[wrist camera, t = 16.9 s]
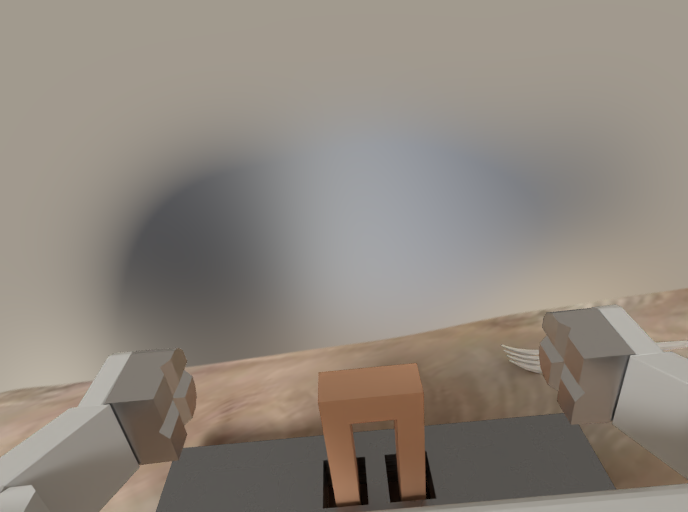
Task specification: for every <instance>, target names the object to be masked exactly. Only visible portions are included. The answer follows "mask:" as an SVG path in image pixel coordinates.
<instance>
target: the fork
mask: <svg viewBox="0 0 688 512" xmlns="http://www.w3.org/2000/svg"><path fill="white" fill-rule="evenodd" d="M655 343H656V344H657V345H658V346H659V347H660V348H661V349H662V350H671V349H678V348H686V347H688V340H684V341H670V342H655ZM501 346H502V347H504V348H506V349H508V350H511V351H513V352H516V353H513V352H510V351H507V350H504V352H506V353H508V354H510V355H513V356H515V357H512V356H509V355H506V356H507V357H509V358H511V359H513V360H515V361H517V362H515V361H512V360H509V361H510V362H512V363H513V364H515V365H517V366H519V367H521V368H523V369H526V370H529V371H532V372H536V373H542V370H541V367H540V361H535V360H539V356H530V355H539V350H528V349H519V348H514V347H509V346H505V345H502V344H501ZM517 353H519V354H517ZM521 354H523V355H521ZM516 357H518V358H516ZM519 358H521V359H519ZM524 359H525V360H524ZM518 362H520V363H518ZM522 363H523V364H522ZM526 364H527V365H526Z"/></svg>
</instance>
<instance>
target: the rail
mask: <svg viewBox="0 0 688 512" xmlns="http://www.w3.org/2000/svg"><path fill="white" fill-rule="evenodd" d="M424 432H425V478H427V481H428V486H429V491H430V496H431V499H426V500H415V501H403V502H392V503H390V497H389V488H388V481H396V480H398V472H397V457H396V442H395V429H386V430H375V431H364V432H353V437H354V445H355V452H356V460H357V467H358V475H359V483H360V484H362V483H367V489H368V501H369V505H358V506H347V507H336V508H328V487H329V486H333V484H332V478H331V473H330V467H329V461H328V456H327V450H326V445H325V439H324V435H321V436H310V437H299V438H288V439H277V440H267V441H256V442H245V443H234V444H223V445H212V446H201V447H191V448H183V449H182V452H181V455H180V458H179V460H178V461H172V464H171V467H170V470H169V473H168V476H167V479H166V482H165V485H164V488H163V491H162V494H161V497H160V500H159V504H158V507H157V510H156V512H366V511H377V510H389V509H400V508H412V507H423V506H435V505H446V504H458V503H469V502H480V501H492V500H503V499H515V498H526V497H538V496H549V495H561V494H572V493H584V492H595V491H607V490H616V488H615V487H614V485H613V483H612V481H611V480H610V478H609V476H608V475H607V473H606V471H605V469H604V468H603V466H602V464H601V462H600V461H599V459H598V457H597V455H596V454H595V452H594V450H593V449H592V447H591V445H590V443H589V442H588V440H587V438H586V436H585V435H584V433H583V431H582V430H581V428H580V426H579V424H575V425H571V424H570V423H569V421H568V419H567V417H566V416H565V414H564V413H560V414H549V415H538V416H527V417H516V418H505V419H494V420H484V421H473V422H462V423H451V424H440V425H429V426H424Z"/></svg>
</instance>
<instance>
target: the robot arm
mask: <svg viewBox="0 0 688 512" xmlns="http://www.w3.org/2000/svg"><path fill="white" fill-rule="evenodd" d="M542 328H543V330H544V331H545V333H546V335H547V336H546V337H545V338H544V339H543V340H542V341H541V343H540V347H539V361H540V367H541V370H542V373H543V376H544V378H545V380H546V382H547V384H548V385H549V386H551V387H552V388H554V389H556V390H557V391H558V397H557V402H558V403H559V405H560V407H561V409H562V410H563V412H564V414H565V416H566V417H567V419H568V421H569V423H570V424H571V425H575V424H591V423H607V422H612V424H613V425H614V426H615V427H617V428H618V429H619V430H621V431H622V432H623V433H625V434H626V435H628V436H629V437H630V438H632V439H633V440H634V441H636V442H637V443H638V444H640V445H641V446H642V447H644V448H645V449H647V450H648V451H649V452H651V453H652V454H653V455H655V456H656V457H657V458H659V459H660V460H661V461H663V462H664V463H666V464H667V465H668V466H670V467H671V468H672V469H674V470H675V471H676V472H678V473H679V474H680V475H682V476H683V477H685V478H686V479H687V480H688V359H687V358H685V357H683V356H680V355H678V354H676V353H674V352H663V350H662V349H661V348H660V347H659V346H658V345H657V344H656V343H655V342H654V341H653V340H652V339H651V338H650V337H649V336H648V335H647V334H646V332H645V331H644V330H643V329H642V328H641V327H640V326H639V325H638V324H637V323H636V322H635V321H634V320H633V319H632V318H631V317H630V315H629V314H628V313H627V312H626V311H625V310H624V309H623V308H622V307H620V306H618V305H616V304H615V305H607V306H599V307H592V308H587V309H577V310H567V311H557V312H547V313H546V314H545V316H544V318H543V324H542ZM186 363H187V360H186V357H185V355H184V352H183V350H181V349H180V348H169V349H156V350H142V351H135V352H133V351H132V352H120V353H113V354H112V355H110V356H109V357H108V358H107V359H106V361H105V363H104V364H103V366H102V368H101V369H100V371H99V373H98V374H97V376H96V378H95V379H94V381H93V382H92V384H91V386H90V387H89V389H88V391H87V392H86V394H85V395H84V397H83V399H82V400H81V402H80V404H79V405H78V407H75V408H70V409H68V410H67V411H65V412H64V413H63V414H61V415H60V416H58V417H57V418H55V419H54V420H53V421H51V422H50V423H48V424H47V425H46V426H44V427H43V428H41V429H40V430H38V431H37V432H36V433H34V434H33V435H31V436H30V437H29V438H27V439H26V440H24V441H23V442H22V443H20V444H19V445H17V446H16V447H14V448H13V449H12V450H10V451H9V452H7V453H6V454H5V455H3V456H2V457H0V512H99V511H100V510H101V509H102V508H103V507H104V506H105V505H106V504H107V503H108V501H109V500H110V499H111V498H112V497H113V496H114V495H115V494H116V493H117V492H118V490H119V489H120V488H121V487H122V486H123V485H124V484H125V483H126V482H127V481H128V479H129V478H130V477H131V476H132V475H133V474H134V473H135V472H136V471H137V470H138V468H139V465H144V464H152V463H161V462H169V461H178V460H179V458H180V455H181V452H182V449H183V446H184V443H185V440H186V437H187V433H186V430H185V427H184V425H185V424H186V423H188V422H189V421H190V420H191V419H192V418H193V414H194V411H195V407H196V388H195V383H194V380H193V377H192V376H191V375H190V374H189V373H187V372H186V371H185V370H184V369H185V366H186ZM366 512H688V483H687V484H675V485H664V486H652V487H641V488H630V489H618V490H607V491H595V492H584V493H572V494H561V495H549V496H538V497H526V498H515V499H503V500H492V501H480V502H469V503H458V504H446V505H435V506H423V507H412V508H400V509H389V510H377V511H366Z"/></svg>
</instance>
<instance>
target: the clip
mask: <svg viewBox="0 0 688 512" xmlns="http://www.w3.org/2000/svg"><path fill="white" fill-rule="evenodd" d="M318 405H319V411H320V416H321V422H322V428H323V433H324V439H325V445H326V450H327V456H328V461H329V467H330V473H331V478H332V484H333V490H334V495H335V501H336V507H347V506H358V505H362V504H361V490H360V483H359V475H358V467H357V460H356V452H355V445H354V437H353V429H352V424H355V423H365V422H376V421H387V420H394V427H395V442H396V457H397V472H398V487H399V494H400V501H401V502H403V501H415V500H426V480H425V432H424V392H423V387H422V383H421V379H420V375H419V371H418V367H417V363H411V364H401V365H390V366H380V367H370V368H359V369H349V370H339V371H328V372H319V381H318Z"/></svg>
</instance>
